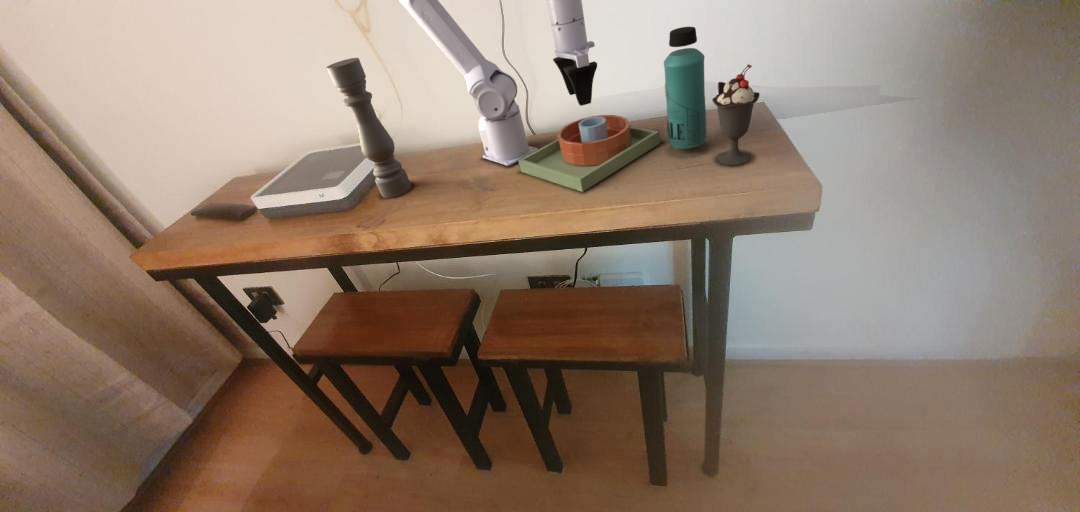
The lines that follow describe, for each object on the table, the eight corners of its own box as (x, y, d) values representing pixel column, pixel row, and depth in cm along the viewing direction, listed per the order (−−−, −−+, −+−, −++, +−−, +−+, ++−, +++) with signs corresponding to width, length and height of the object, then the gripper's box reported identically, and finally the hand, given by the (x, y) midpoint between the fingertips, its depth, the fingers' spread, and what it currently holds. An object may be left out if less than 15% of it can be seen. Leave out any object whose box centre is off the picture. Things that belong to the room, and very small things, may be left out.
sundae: (760, 165, 75) (765, 67, 66) (714, 169, 77) (714, 74, 68) (753, 148, 80) (757, 54, 72) (710, 152, 82) (710, 61, 73)
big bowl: (548, 161, 93) (543, 137, 90) (595, 135, 99) (592, 111, 96) (598, 175, 84) (593, 148, 81) (646, 145, 89) (644, 119, 87)
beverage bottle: (711, 142, 85) (711, 20, 74) (700, 158, 81) (697, 32, 70) (675, 140, 88) (669, 24, 77) (662, 156, 84) (654, 36, 73)
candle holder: (384, 201, 94) (326, 70, 80) (378, 190, 99) (323, 66, 85) (414, 189, 95) (363, 59, 81) (407, 179, 100) (357, 55, 86)
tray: (521, 171, 92) (518, 160, 90) (594, 130, 101) (593, 119, 99) (582, 192, 80) (580, 179, 78) (659, 143, 89) (659, 131, 88)
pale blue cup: (577, 153, 91) (572, 125, 88) (596, 142, 94) (592, 115, 90) (596, 157, 88) (592, 129, 85) (615, 146, 90) (611, 118, 87)
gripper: (601, 19, 77) (612, 103, 84) (579, 10, 89) (590, 84, 96) (559, 31, 76) (573, 113, 84) (542, 19, 88) (556, 93, 96)
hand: (579, 98), depth 90 cm, fingers open, 7 cm apart
